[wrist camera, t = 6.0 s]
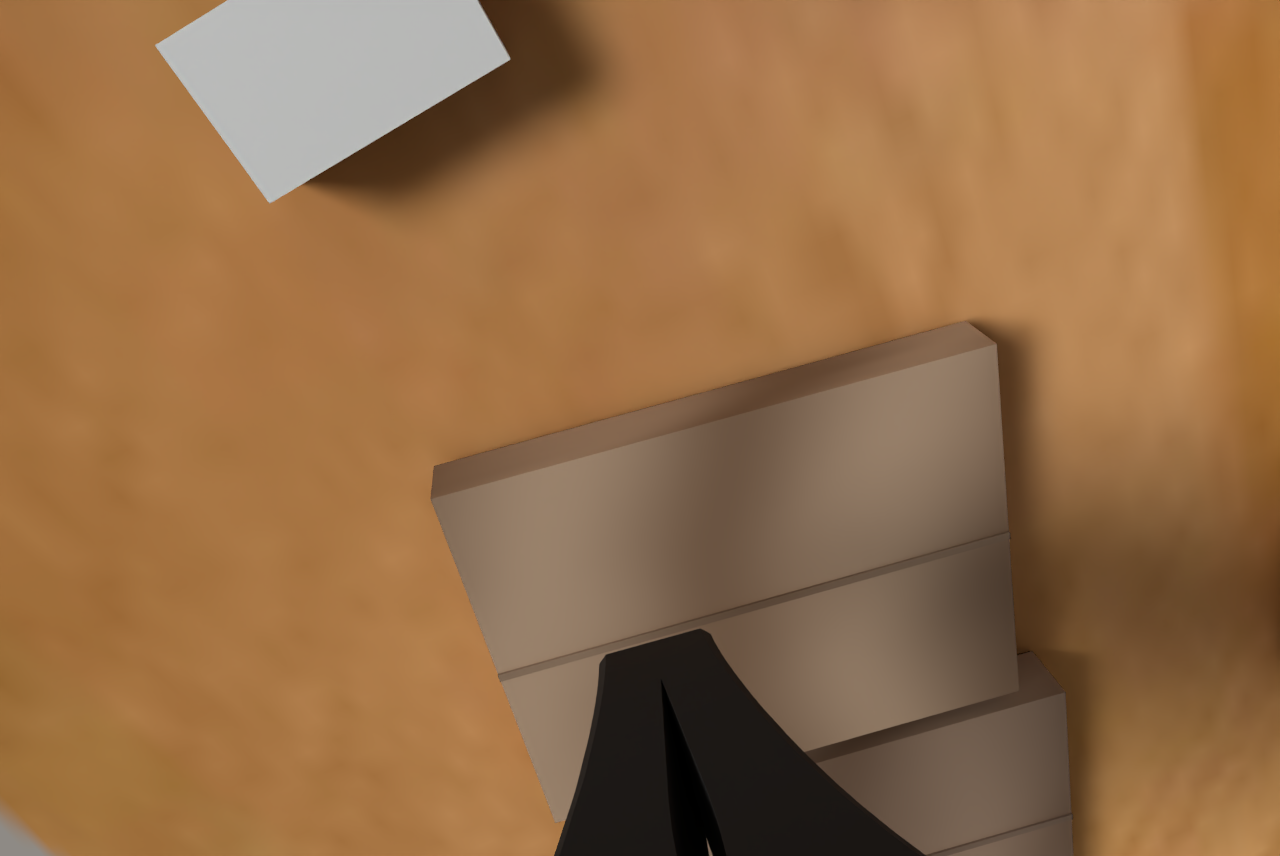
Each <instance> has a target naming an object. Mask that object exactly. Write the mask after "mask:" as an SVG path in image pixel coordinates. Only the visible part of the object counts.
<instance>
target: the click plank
mask: <svg viewBox="0 0 1280 856" xmlns="http://www.w3.org/2000/svg"><path fill="white" fill-rule="evenodd" d="M431 501H432V504H433V507H434V509H435V512H436V514H437V517H438V520H439V522H440V525H441V527H442V530H443V532H444V535H445V538H446V540H447V543H448V545H449V548H450V551H451V553H452V556H453V558H454V561H455V564H456V566H457V569H458V571H459V574H460V577H461V579H462V582H463V584H464V587H465V590H466V592H467V595H468V597H469V600H470V603H471V605H472V608H473V610H474V613H475V616H476V618H477V621H478V623H479V626H480V628H481V631H482V634H483V636H484V639H485V641H486V644H487V647H488V649H489V652H490V654H491V657H492V660H493V662H494V665H495V667H496V670H497V673H498V677H499V679H500V682H501V683H502V686H503V688H504V691H505V693H506V696H507V699H508V701H509V704H510V706H511V709H512V712H513V714H514V717H515V719H516V722H517V725H518V727H519V730H520V732H521V735H522V737H523V740H524V743H525V745H526V748H527V750H528V753H529V756H530V758H531V761H532V763H533V766H534V769H535V771H536V774H537V776H538V779H539V782H540V784H541V787H542V789H543V792H544V795H545V797H546V800H547V802H548V805H549V808H550V810H551V813H552V815H553V818H554V821H555V823H557V822H560V821H564V820H566V818H567V815H568V812H569V809H570V806H571V803H572V800H573V796H574V793H575V790H576V786H577V782H578V778H579V774H580V770H581V766H582V762H583V758H584V754H585V751H586V747H587V743H588V738H589V734H590V729H591V724H592V719H593V714H594V708H595V702H596V695H597V687H598V678H599V664H600V662H601V661H602V659H603V658H604V656H605V655H606V654H610V653H613V652H617V651H620V650H624V649H628V648H631V647H635V646H638V645H642V644H646V643H649V642H653V641H656V640H660V639H664V638H667V637H671V636H674V635H678V634H682V633H685V632H689V631H692V630H696V629H700V628H701V629H703V630H705V631H707V632H708V633H710V634H711V635H712V638H713V640H714V642H715V643H716V645H717V647H718V648H719V650H720V652H721V653H722V655H723V656H724V658H725V660H726V661H727V663H728V664H729V665H730V667H731V668H732V670H733V671H734V672H735V674H736V675H737V676H738V678H739V679H740V680H741V681H742V683H743V684H744V685H745V687H746V688H747V689H748V690H749V692H750V693H751V694H752V695H753V697H754V698H755V699H756V700H757V701H758V703H759V704H760V705H761V706H762V707H763V708H764V709H765V711H766V712H767V713H768V714H769V715H770V716H771V717H772V718H773V719H774V721H775V722H776V723H777V724H778V725H779V726H780V727H781V728H782V729H783V730H784V732H785V733H786V734H787V735H788V736H789V737H790V738H791V739H792V740H793V741H794V742H795V743H796V744H797V745H798V746H799V747H800V748H801V749H802V750H803V751H804V752H806V751H809V750H813V749H816V748H820V747H823V746H827V745H830V744H834V743H837V742H841V741H844V740H848V739H851V738H855V737H858V736H862V735H865V734H869V733H873V732H876V731H880V730H883V729H887V728H890V727H894V726H897V725H901V724H904V723H908V722H911V721H915V720H918V719H922V718H925V717H929V716H932V715H936V714H939V713H943V712H946V711H950V710H953V709H957V708H960V707H964V706H967V705H971V704H974V703H978V702H981V701H985V700H988V699H992V698H995V697H999V696H1002V695H1006V694H1009V693H1013V692H1016V691H1019V681H1018V665H1017V650H1016V634H1015V619H1014V603H1013V588H1012V572H1011V557H1010V542H1009V539H1010V532H1009V526H1008V511H1007V495H1006V480H1005V464H1004V449H1003V433H1002V418H1001V402H1000V387H999V371H998V356H997V344H996V343H995V342H994V341H992V340H991V339H989V338H988V337H987V336H985V335H984V334H983V333H981V332H980V331H979V330H977V329H976V328H975V327H973V326H972V325H971V324H969V323H968V322H967V321H963V322H960V323H956V324H952V325H949V326H945V327H941V328H938V329H934V330H930V331H927V332H923V333H919V334H916V335H912V336H908V337H905V338H901V339H897V340H894V341H890V342H886V343H883V344H879V345H875V346H872V347H868V348H865V349H861V350H857V351H854V352H850V353H846V354H843V355H839V356H835V357H832V358H828V359H824V360H821V361H817V362H813V363H810V364H806V365H802V366H799V367H795V368H791V369H788V370H784V371H780V372H777V373H773V374H769V375H766V376H762V377H758V378H755V379H751V380H747V381H744V382H740V383H736V384H733V385H729V386H725V387H722V388H718V389H714V390H711V391H707V392H704V393H700V394H696V395H693V396H689V397H685V398H682V399H678V400H674V401H671V402H667V403H663V404H660V405H656V406H652V407H649V408H645V409H641V410H638V411H634V412H630V413H627V414H623V415H619V416H616V417H612V418H608V419H605V420H601V421H597V422H594V423H590V424H586V425H583V426H579V427H575V428H572V429H568V430H564V431H561V432H557V433H553V434H550V435H546V436H542V437H539V438H535V439H532V440H528V441H524V442H521V443H517V444H513V445H510V446H506V447H502V448H499V449H495V450H491V451H488V452H484V453H480V454H477V455H473V456H469V457H466V458H462V459H458V460H455V461H451V462H447V463H444V464H440V465H436V466H434V470H433V480H432V490H431Z"/></svg>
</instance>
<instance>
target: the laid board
mask: <svg viewBox="0 0 1280 856" xmlns="http://www.w3.org/2000/svg"><path fill="white" fill-rule="evenodd" d="M1017 665H1018V681H1019V691H1016V692H1013V693H1009V694H1006V695H1002V696H999V697H995V698H992V699H988V700H985V701H981V702H978V703H974V704H971V705H967V706H964V707H960V708H957V709H953V710H950V711H946V712H943V713H939V714H936V715H932V716H929V717H925V718H922V719H918V720H915V721H911V722H908V723H904V724H901V725H897V726H894V727H890V728H887V729H883V730H880V731H876V732H873V733H869V734H865V735H862V736H858V737H855V738H851V739H848V740H844V741H841V742H837V743H834V744H830V745H827V746H823V747H820V748H816V749H813V750H809V751H806V752H805V753H806V754H807V755H808V756H809V757H810V758H811V759H812V760H813V761H814V762H815V763H816V764H817V765H818V766H819V767H820V768H821V769H822V770H823V771H824V772H825V773H826V774H827V775H828V776H830V777H831V778H832V779H833V780H834V781H835V782H836V783H837V784H838V785H839V786H840V787H842V788H843V789H844V790H845V791H846V792H847V793H848V794H849V795H851V796H852V797H853V798H854V799H855V800H856V801H857V802H859V803H860V804H861V805H862V806H863V807H864V808H866V809H867V810H868V811H869V812H871V813H872V814H873V815H874V816H876V817H877V818H878V819H879V820H880V821H882V822H883V823H884V824H885V825H887V826H888V827H889V828H890V829H892V830H893V831H894V832H895V833H897V834H898V835H899V836H901V837H902V838H903V839H905V840H906V841H907V842H909V843H910V844H911V845H913V846H914V847H915V848H917V849H918V850H919V851H921V852H922V853H923V854H925V855H926V856H1073V835H1072V820H1073V814H1072V813H1071V794H1070V774H1069V753H1068V733H1067V712H1066V692H1065V691H1064V690H1063V688H1062V687H1061V686H1060V685H1059V684H1058V682H1057V681H1056V680H1055V679H1054V677H1053V676H1052V675H1051V674H1050V672H1049V671H1048V670H1047V669H1046V668H1045V666H1044V665H1043V664H1042V663H1041V661H1040V660H1039V659H1038V658H1037V657H1036V655H1035V654H1034V653H1033V652H1032V651H1031V652H1027V653H1024V654H1020V655H1017ZM706 839H707V838H706ZM707 845H708V851H709V856H713V855H712V852H711V849H710V847H709V844H708V841H707Z"/></svg>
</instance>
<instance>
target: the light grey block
mask: <svg viewBox="0 0 1280 856" xmlns="http://www.w3.org/2000/svg"><path fill="white" fill-rule="evenodd" d="M155 46H156V47H157V49H158V50H159V52H160V53H161V54H162V56H163V57H164V58H165V60H166V61H167V63H168V64H169V65H170V67H171V68H172V70H173V71H174V72H175V74H176V75H177V76H178V78H179V79H180V81H181V82H182V83H183V85H184V86H185V87H186V89H187V90H188V92H189V93H190V94H191V96H192V97H193V98H194V100H195V101H196V103H197V104H198V105H199V107H200V108H201V110H202V111H203V112H204V114H205V115H206V116H207V118H208V119H209V121H210V122H211V123H212V125H213V126H214V127H215V129H216V130H217V132H218V133H219V134H220V136H221V137H222V138H223V140H224V141H225V143H226V144H227V145H228V147H229V148H230V149H231V151H232V152H233V154H234V155H235V156H236V158H237V159H238V161H239V162H240V163H241V165H242V166H243V167H244V169H245V170H246V172H247V173H248V174H249V176H250V177H251V178H252V180H253V181H254V183H255V184H256V185H257V187H258V188H259V189H260V191H261V192H262V194H263V195H264V196H265V198H266V199H267V201H268V202H269V203H271V202H273V201H275V200H276V199H278V198H280V197H281V196H283V195H285V194H286V193H288V192H290V191H291V190H293V189H295V188H296V187H298V186H300V185H301V184H303V183H305V182H307V181H308V180H310V179H312V178H313V177H315V176H317V175H318V174H320V173H322V172H323V171H325V170H327V169H328V168H330V167H332V166H333V165H335V164H337V163H338V162H340V161H342V160H343V159H345V158H347V157H348V156H350V155H352V154H353V153H355V152H357V151H358V150H360V149H362V148H363V147H365V146H367V145H368V144H370V143H372V142H373V141H375V140H377V139H378V138H380V137H382V136H383V135H385V134H387V133H388V132H390V131H392V130H393V129H395V128H397V127H398V126H400V125H402V124H403V123H405V122H407V121H408V120H410V119H412V118H413V117H415V116H417V115H419V114H420V113H422V112H424V111H425V110H427V109H429V108H430V107H432V106H434V105H435V104H437V103H439V102H440V101H442V100H444V99H445V98H447V97H449V96H450V95H452V94H454V93H455V92H457V91H459V90H460V89H462V88H464V87H465V86H467V85H469V84H470V83H472V82H474V81H475V80H477V79H479V78H480V77H482V76H484V75H485V74H487V73H489V72H490V71H492V70H494V69H495V68H497V67H499V66H500V65H502V64H504V63H505V62H507V61H509V60H510V56H509V54H508V51H507V49H506V48H505V46H504V44H503V42H502V41H501V39H500V37H499V35H498V33H497V32H496V30H495V28H494V26H493V25H492V23H491V21H490V19H489V17H488V16H487V14H486V12H485V10H484V9H483V7H482V5H481V3H480V1H479V0H227V1H226V2H224V3H223V4H221V5H219V6H218V7H216V8H214V9H213V10H211V11H210V12H208V13H206V14H205V15H203V16H202V17H200V18H198V19H197V20H195V21H194V22H192V23H190V24H189V25H187V26H185V27H184V28H182V29H181V30H179V31H177V32H176V33H174V34H173V35H171V36H169V37H168V38H166V39H165V40H163V41H161V42H160V43H158V44H156V45H155Z"/></svg>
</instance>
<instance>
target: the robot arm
mask: <svg viewBox="0 0 1280 856" xmlns="http://www.w3.org/2000/svg"><path fill="white" fill-rule="evenodd" d="M706 838H707V839H706ZM707 841H708V844H709V847H710V849H711V852H712V855H713V856H926V855H925V854H923V853H922V852H921V851H919V850H918V849H917V848H915V847H914V846H913V845H911V844H910V843H909V842H907V841H906V840H905V839H903V838H902V837H901V836H899V835H898V834H897V833H895V832H894V831H893V830H892V829H890V828H889V827H888V826H887V825H885V824H884V823H883V822H882V821H880V820H879V819H878V818H877V817H876V816H874V815H873V814H872V813H871V812H869V811H868V810H867V809H866V808H864V807H863V806H862V805H861V804H860V803H859V802H857V801H856V800H855V799H854V798H853V797H852V796H851V795H849V794H848V793H847V792H846V791H845V790H844V789H843V788H842V787H840V786H839V785H838V784H837V783H836V782H835V781H834V780H833V779H832V778H831V777H830V776H828V775H827V774H826V773H825V772H824V771H823V770H822V769H821V768H820V767H819V766H818V765H817V764H816V763H815V762H814V761H813V760H812V759H811V758H810V757H809V756H808V755H807V754H806V753H805V752H804V751H803V750H802V749H801V748H800V747H799V746H798V745H797V744H796V743H795V742H794V741H793V740H792V739H791V738H790V737H789V736H788V735H787V734H786V733H785V732H784V730H783V729H782V728H781V727H780V726H779V725H778V724H777V723H776V722H775V721H774V719H773V718H772V717H771V716H770V715H769V714H768V713H767V712H766V711H765V709H764V708H763V707H762V706H761V705H760V704H759V703H758V701H757V700H756V699H755V698H754V697H753V695H752V694H751V693H750V692H749V690H748V689H747V688H746V687H745V685H744V684H743V683H742V681H741V680H740V679H739V678H738V676H737V675H736V674H735V672H734V671H733V670H732V668H731V667H730V665H729V664H728V663H727V661H726V660H725V658H724V656H723V655H722V653H721V652H720V650H719V648H718V647H717V645H716V643H715V642H714V640H713V638H712V635H711V634H710V633H708V632H707V631H705V630H703V629H701V628H700V629H696V630H692V631H689V632H685V633H682V634H678V635H674V636H671V637H667V638H664V639H660V640H656V641H653V642H649V643H646V644H642V645H638V646H635V647H631V648H628V649H624V650H620V651H617V652H613V653H610V654H606V655H605V656H604V658H603V659H602V661H601V662H600V664H599V678H598V687H597V695H596V702H595V708H594V714H593V719H592V724H591V729H590V734H589V738H588V743H587V747H586V751H585V754H584V758H583V762H582V766H581V770H580V774H579V778H578V782H577V786H576V790H575V793H574V796H573V800H572V803H571V806H570V809H569V812H568V815H567V818H566V821H565V824H564V827H563V830H562V834H561V837H560V840H559V843H558V846H557V849H556V852H555V855H554V856H709V851H708V845H707Z"/></svg>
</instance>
